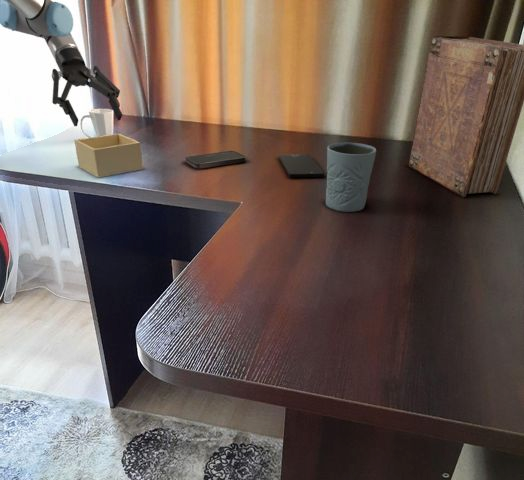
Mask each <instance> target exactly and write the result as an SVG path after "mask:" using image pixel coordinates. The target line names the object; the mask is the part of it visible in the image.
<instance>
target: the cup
mask: <svg viewBox="0 0 524 480" xmlns="http://www.w3.org/2000/svg"><path fill="white" fill-rule="evenodd" d="M86 118H89V119H90V120H91V124H92V127H93V131H94V133H95V134H96V137H98V136H105V135H112V134H114V111H113V109H112V108H94V109H90V110H89V111H88V114H86V115H83V116H82V117H81V119H80V124H79V125H80V130H81V133H82V134H83V135H85V137H86V138H92V136H90V135H88V134H87V133H85V132H84V130H83V121H84V120H85V119H86Z"/></svg>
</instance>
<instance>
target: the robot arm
mask: <svg viewBox="0 0 524 480" xmlns="http://www.w3.org/2000/svg"><path fill="white" fill-rule="evenodd" d="M0 26H1V27H3V28H4V29H8V30H11V31H12V32H19V33H22V34H26V35H31V36H34V37H37V38H41V39H43V40H44V41H45V43H46V45H47V46H48V48H49V51H50V53H51V55H52V57H53V59H54V61H55V63H56V65H57V67H58V69H59V70H57V69H56V68H53V69H52V71H51V78H52V81H53V85H52V98H51V99H52V100H51V101H52V104H53V105H58V106H59V108H61V109H62V110H63V112H64V114H65V115H67V116H69V119H70V120H71V123H72V124H73V127H78V124H79V118H78V116H77V114H76V112H75V110H74V108H73V106H72V104H71V102H70V100H69V99H68V96H69V94H70V91H71V89H72V87H73V86H74V87H77V88H78V87H86V86H87V87H89V88H92V89H94V90H95V91H96V92H98V93H100V94H101V95H103V96H104V97H105V98H107V99H108V103H109V105H110V107H111V110H113V114H114V116H115V117H116V120H117V122H118V121H121V120H122V117H123V113H122V111H121V109H120V106H121V103H120V102H119V99H118V98H119V96H120V94H121V89H119V87H117V86H116V85H115V84H114V83H113V82H112V81H111V80H110V79H109V78H108V77H106V76H105V74H104V73H102V72H101V70H100V68H99V67H98V65H94V66H93V68H88V67H87V65H86V62H85V60H84V58H83V55H82V54H81V51H80V50H79V46H78V45H77V43H76V41H75V39H74V37H73V35H72V34H71V33H72V31H73V27H74V18H73V15H72V12H71V10H70V9H69V7H68V6H67V5H65V4H63V3H61V2H58V1H53V0H0ZM61 79H63V80H65V81H66V83H65V85H64V88H63V91H62V93H61V96H59V87H60V80H61Z"/></svg>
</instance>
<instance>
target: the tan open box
mask: <svg viewBox="0 0 524 480" xmlns="http://www.w3.org/2000/svg"><path fill="white" fill-rule="evenodd" d="M73 142H74V148H75V152H76V158H77V163H78V167H79V168H81V169H82V170H84V171H86V172H88V173H89V174H91V175H93V176H95V177H96V178H104V177H109V176H114V175H120V174H125V173H130V172H136V171H141V170H143V169H144V165H143V164H144V163H143V157H142V147H141V142H140V141H138V140H136V139H133V138H131V137H128V136H126V135H124V134H121V133H113V134H112V135H105V136H98V137H97V136H93V137H92V136H91V138H89V137H85V138H79V139H73Z"/></svg>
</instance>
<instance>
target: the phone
mask: <svg viewBox="0 0 524 480" xmlns="http://www.w3.org/2000/svg"><path fill="white" fill-rule="evenodd" d="M245 162H247V157H246V155H243V154H241V153H240V152H237V151H235V150H227V151H219V152H211V153H205V154H198V155H197V154H196V155H190V156H189V155H187V156H185V163H186V164H188V165H190V166H191V167H193V168H194V169H206V168H213V167H221V166H227V165H232V164H234V165H235V164H239V163H240V164H241V163H245Z"/></svg>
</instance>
